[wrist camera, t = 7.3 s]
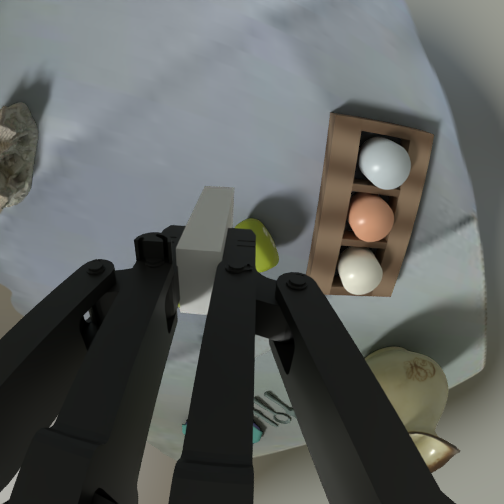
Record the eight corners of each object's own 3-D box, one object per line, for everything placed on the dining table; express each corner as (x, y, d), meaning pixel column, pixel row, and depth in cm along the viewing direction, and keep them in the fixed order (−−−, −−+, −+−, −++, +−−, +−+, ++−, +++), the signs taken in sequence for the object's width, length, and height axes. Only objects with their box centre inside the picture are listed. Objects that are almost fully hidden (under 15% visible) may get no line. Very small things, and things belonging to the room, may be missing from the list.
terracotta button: (349, 188, 43) (357, 198, 39) (388, 193, 43) (398, 203, 39) (341, 227, 46) (348, 240, 42) (379, 230, 46) (388, 243, 42)
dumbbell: (254, 204, 45) (254, 226, 38) (282, 248, 48) (286, 275, 42) (163, 257, 49) (151, 284, 43) (194, 293, 52) (186, 322, 46)
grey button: (360, 133, 38) (370, 138, 34) (402, 140, 38) (414, 147, 34) (353, 177, 41) (362, 186, 37) (393, 182, 41) (405, 192, 37)
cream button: (341, 243, 46) (347, 257, 42) (378, 246, 46) (387, 260, 42) (333, 278, 48) (338, 294, 45) (369, 280, 49) (376, 295, 45)
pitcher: (436, 370, 63) (470, 458, 41) (346, 409, 69) (360, 500, 47) (420, 309, 54) (473, 417, 32) (308, 360, 60) (321, 476, 38)
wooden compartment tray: (330, 112, 38) (335, 114, 35) (424, 130, 38) (434, 134, 36) (304, 282, 51) (306, 293, 48) (385, 286, 51) (390, 296, 48)
